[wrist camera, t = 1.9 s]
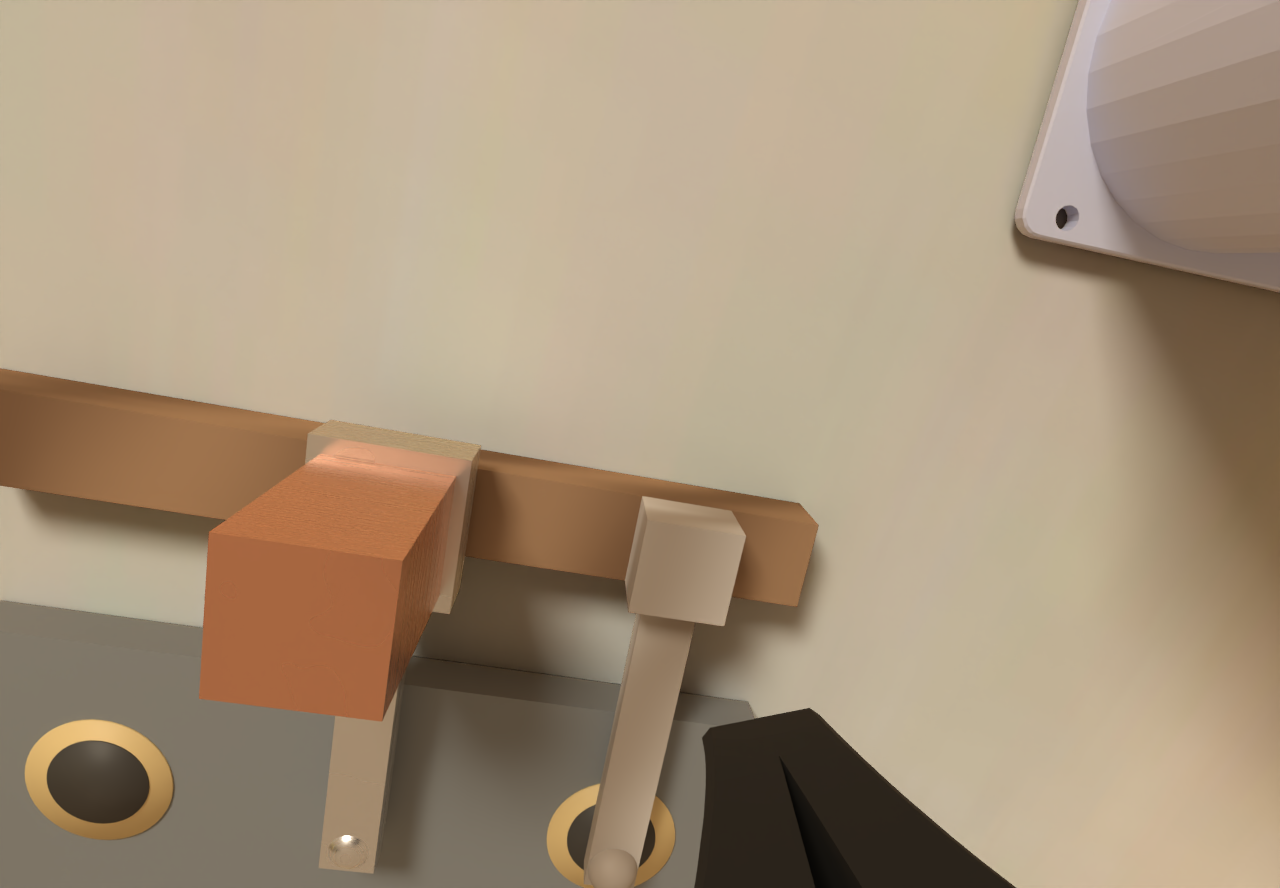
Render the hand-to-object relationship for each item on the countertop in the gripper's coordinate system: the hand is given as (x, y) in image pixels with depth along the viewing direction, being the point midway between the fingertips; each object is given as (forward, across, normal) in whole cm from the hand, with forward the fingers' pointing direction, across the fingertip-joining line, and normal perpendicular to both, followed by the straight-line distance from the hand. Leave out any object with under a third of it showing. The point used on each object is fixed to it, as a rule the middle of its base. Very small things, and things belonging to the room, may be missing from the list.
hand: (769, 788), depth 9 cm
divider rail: (+9, +7, +1) cm, 12 cm away
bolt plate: (+9, +9, +5) cm, 13 cm away
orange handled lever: (+8, +7, +1) cm, 10 cm away
